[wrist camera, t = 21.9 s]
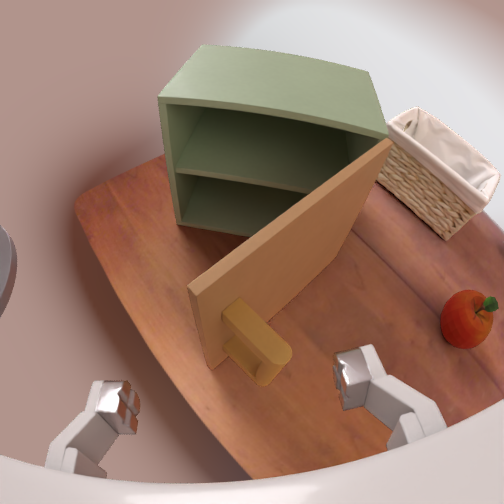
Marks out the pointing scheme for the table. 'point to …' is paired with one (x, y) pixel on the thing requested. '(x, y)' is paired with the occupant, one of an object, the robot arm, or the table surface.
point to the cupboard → (260, 133)
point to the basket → (436, 172)
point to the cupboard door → (277, 271)
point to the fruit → (467, 318)
